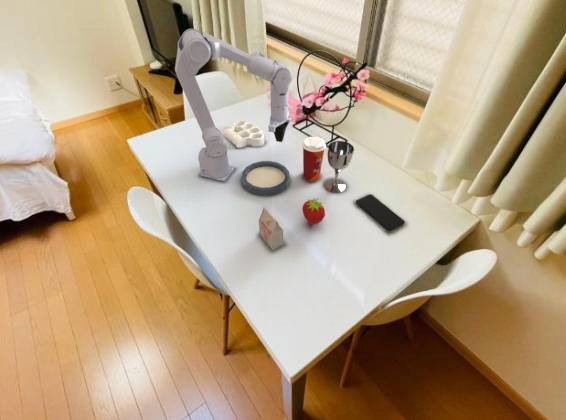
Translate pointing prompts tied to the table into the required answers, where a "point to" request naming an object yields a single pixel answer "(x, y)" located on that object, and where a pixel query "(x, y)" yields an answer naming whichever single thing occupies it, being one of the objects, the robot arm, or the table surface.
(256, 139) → the white tube cluster
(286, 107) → the robot arm
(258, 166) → the plate
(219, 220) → the table surface
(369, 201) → the smartphone
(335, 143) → the silver metal goblet
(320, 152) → the paper cup
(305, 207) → the strawberry
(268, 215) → the milk carton
